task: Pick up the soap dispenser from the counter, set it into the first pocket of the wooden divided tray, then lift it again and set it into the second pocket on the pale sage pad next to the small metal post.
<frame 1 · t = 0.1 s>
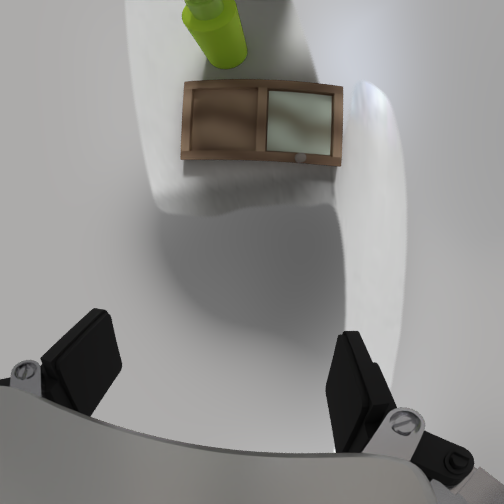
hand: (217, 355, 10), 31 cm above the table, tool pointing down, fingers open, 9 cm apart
soap dispenser: (230, 54, 33), on the table
wooden divided tray: (262, 121, 36), on the table
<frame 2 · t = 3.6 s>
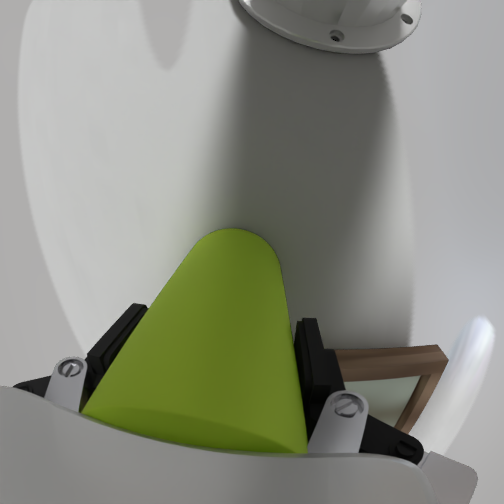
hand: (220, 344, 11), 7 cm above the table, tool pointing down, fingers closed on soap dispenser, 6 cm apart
soap dispenser: (240, 278, 18), on the table, touching gripper
wooden divided tray: (299, 402, 20), on the table
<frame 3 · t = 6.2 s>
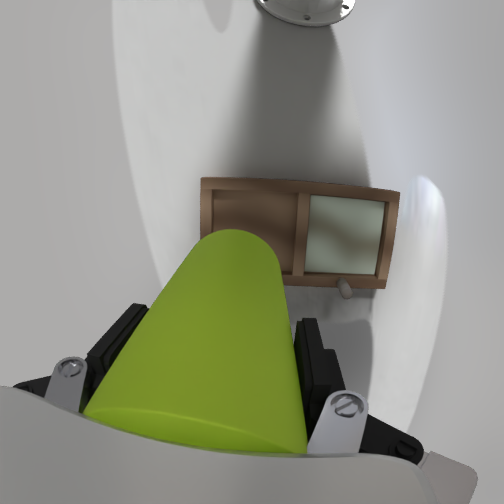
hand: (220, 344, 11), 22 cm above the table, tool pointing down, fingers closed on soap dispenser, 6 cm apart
soap dispenser: (239, 279, 18), point 15 cm above the table, touching gripper
wooden divided tray: (299, 231, 32), on the table
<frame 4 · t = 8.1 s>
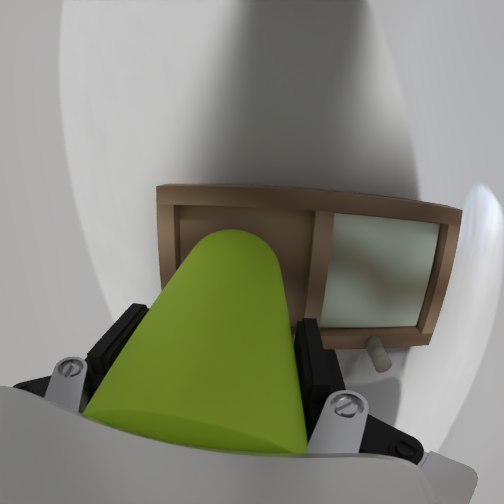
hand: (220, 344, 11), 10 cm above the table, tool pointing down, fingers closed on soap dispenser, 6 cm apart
soap dispenser: (239, 279, 18), point 3 cm above the table, touching gripper
wooden divided tray: (313, 267, 21), on the table
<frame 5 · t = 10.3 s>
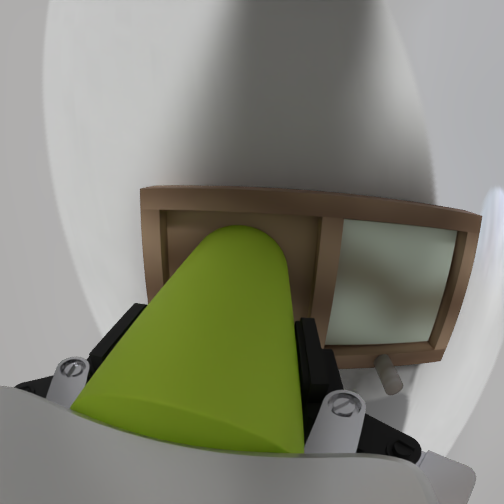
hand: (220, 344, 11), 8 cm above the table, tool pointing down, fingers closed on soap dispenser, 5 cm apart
soap dispenser: (246, 275, 17), point 1 cm above the table, touching gripper
wooden divided tray: (318, 279, 18), on the table
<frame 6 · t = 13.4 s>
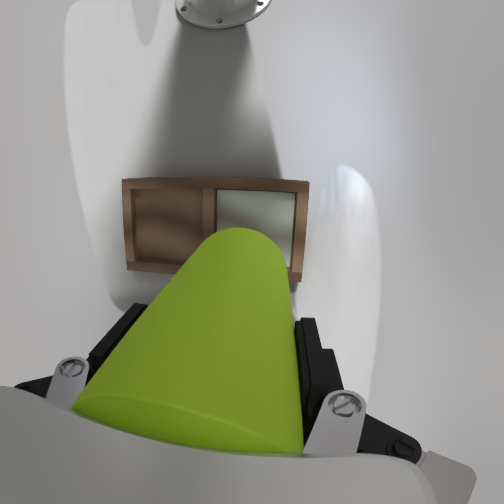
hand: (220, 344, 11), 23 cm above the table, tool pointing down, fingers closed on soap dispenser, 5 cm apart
soap dispenser: (246, 277, 18), point 16 cm above the table, touching gripper
wooden divided tray: (212, 224, 33), on the table
when the fingers open (10 cm above the table, at t = 16.1 s): soap dispenser drops 2 cm, resting on wooden divided tray.
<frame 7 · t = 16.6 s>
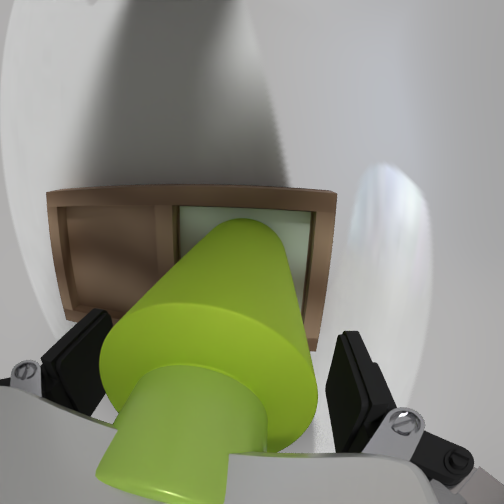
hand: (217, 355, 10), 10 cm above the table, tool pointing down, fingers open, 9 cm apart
soap dispenser: (249, 265, 19), point 1 cm above the table, touching wooden divided tray
wooden divided tray: (176, 260, 21), on the table
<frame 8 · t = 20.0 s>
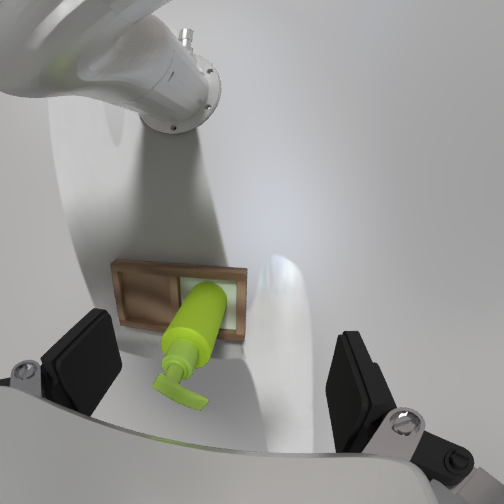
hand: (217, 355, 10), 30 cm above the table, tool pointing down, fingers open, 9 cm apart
soap dispenser: (211, 300, 43), point 1 cm above the table, touching wooden divided tray
wooden divided tray: (178, 297, 44), on the table
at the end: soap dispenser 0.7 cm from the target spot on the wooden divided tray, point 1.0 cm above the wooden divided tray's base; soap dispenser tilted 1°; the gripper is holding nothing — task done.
